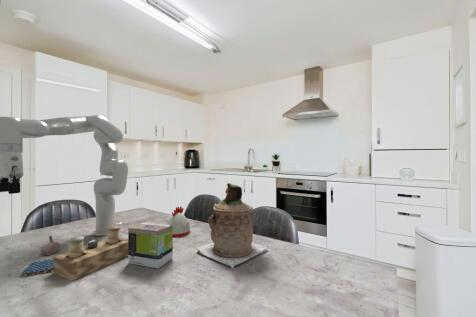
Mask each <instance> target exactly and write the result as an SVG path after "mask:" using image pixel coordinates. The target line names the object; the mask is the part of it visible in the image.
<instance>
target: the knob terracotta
mask: <svg viewBox="0 0 476 317" xmlns="http://www.w3.org/2000/svg"><path fill="white" fill-rule="evenodd" d="M120 228H121V226H112V227H109V228H107V231H108V235H107V239H108V244H109V245H113V244H116V243H119V238H120Z"/></svg>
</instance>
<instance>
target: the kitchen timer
mask: <svg viewBox="0 0 476 317" xmlns="http://www.w3.org/2000/svg"><path fill="white" fill-rule="evenodd" d="M183 212H184V208H183V206H177V207H175V209H173V212H172V211H171V216H170V217H169V218H168V220H167V221H166V224H171V225H172V231H173V238H179V237H185V236H188V235H190V234H191V226H190V222H189V220H188V219H187V217H186V216H185V215H184V214H183Z"/></svg>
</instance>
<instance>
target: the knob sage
mask: <svg viewBox="0 0 476 317" xmlns="http://www.w3.org/2000/svg"><path fill="white" fill-rule="evenodd" d="M84 239H85V237H84V236H76V237H75V236H74V237H71V238H68V241H67V243H68V252H69V259H72V260H73V259H75V258H78V257H81V256H83V247H84V241H85V240H84Z"/></svg>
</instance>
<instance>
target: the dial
mask: <svg viewBox="0 0 476 317" xmlns="http://www.w3.org/2000/svg"><path fill="white" fill-rule="evenodd" d="M98 242H99V240H98V239H90V240H88V241H87V245H86V246H87V248H88V249H93V248H96V247H98Z"/></svg>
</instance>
